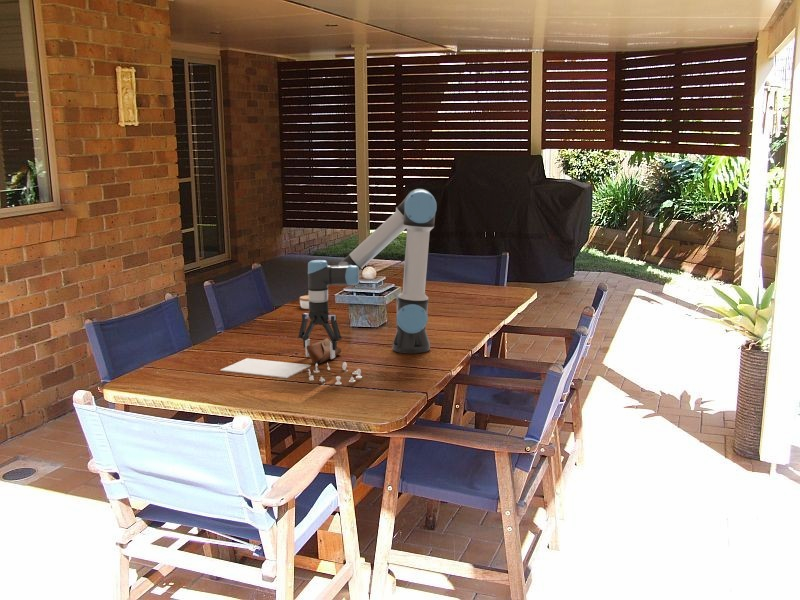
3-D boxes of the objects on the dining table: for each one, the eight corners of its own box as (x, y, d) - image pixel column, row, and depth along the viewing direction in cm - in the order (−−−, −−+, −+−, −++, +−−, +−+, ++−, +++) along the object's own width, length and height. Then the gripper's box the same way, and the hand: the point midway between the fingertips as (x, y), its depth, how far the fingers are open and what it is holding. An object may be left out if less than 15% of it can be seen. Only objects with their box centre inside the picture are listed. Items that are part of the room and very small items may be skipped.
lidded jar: (326, 311, 417) (325, 293, 415) (312, 315, 408) (312, 296, 406) (309, 309, 423) (308, 291, 421) (295, 313, 414) (295, 294, 412)
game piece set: (332, 366, 316) (332, 357, 315) (372, 375, 303) (372, 365, 302) (294, 378, 301) (294, 367, 300) (335, 388, 288) (335, 377, 288)
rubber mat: (310, 365, 316) (310, 364, 316) (286, 378, 299) (286, 377, 299) (246, 359, 326) (246, 358, 326) (220, 370, 310) (220, 369, 310)
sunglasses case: (327, 335, 334) (342, 337, 331) (327, 353, 335) (342, 354, 333) (305, 346, 318) (321, 347, 315) (305, 364, 319) (321, 365, 316)
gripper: (349, 300, 321) (350, 357, 325) (297, 297, 330) (299, 352, 334) (340, 304, 314) (342, 361, 318) (287, 300, 323) (290, 356, 327)
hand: (320, 357), depth 326 cm, fingers open, 10 cm apart
